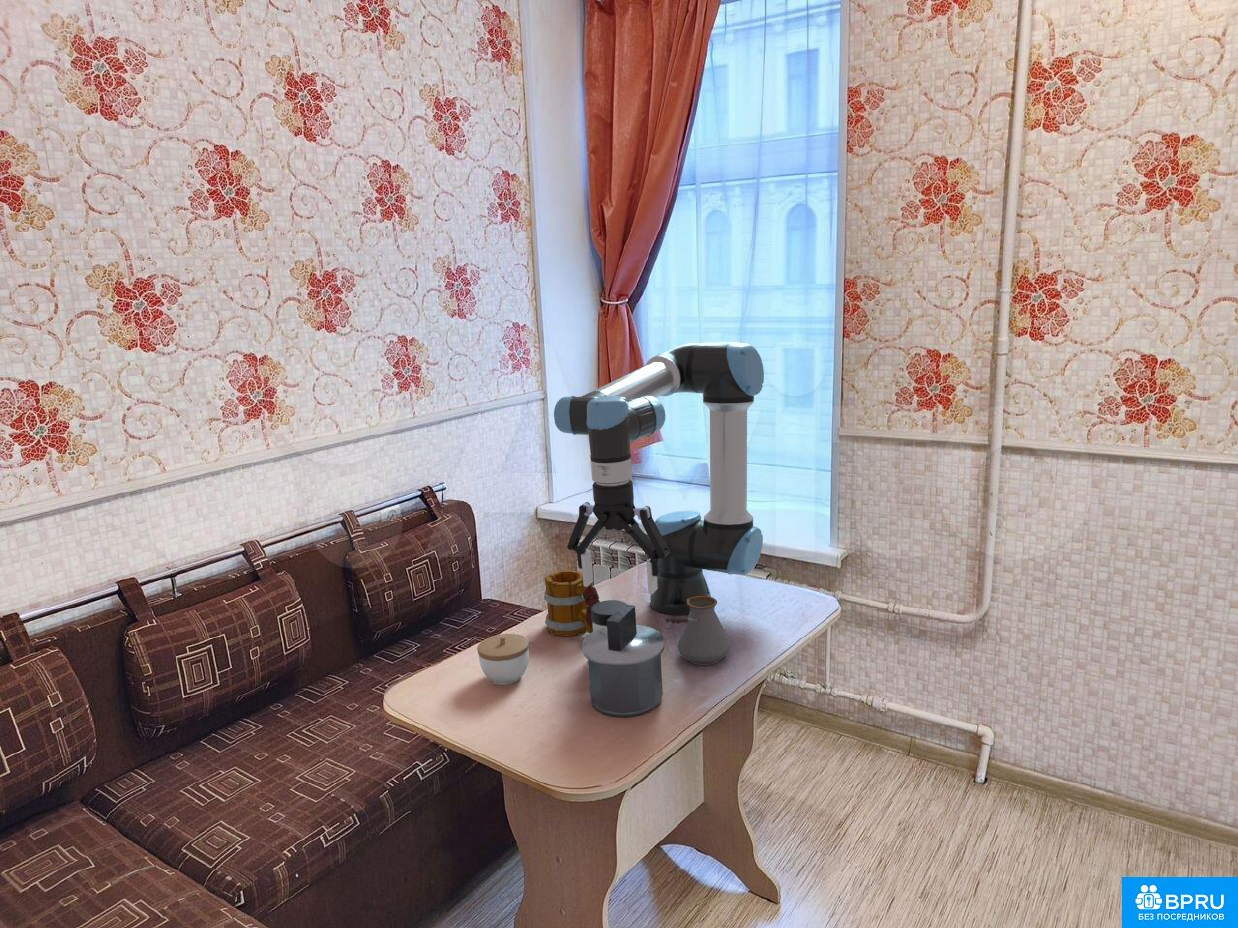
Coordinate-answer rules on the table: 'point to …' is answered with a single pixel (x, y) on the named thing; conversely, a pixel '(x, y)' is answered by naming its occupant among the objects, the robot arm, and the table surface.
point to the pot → (626, 688)
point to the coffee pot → (702, 633)
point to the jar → (604, 612)
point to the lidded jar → (504, 657)
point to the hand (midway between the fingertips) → (620, 587)
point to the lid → (623, 641)
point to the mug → (569, 603)
